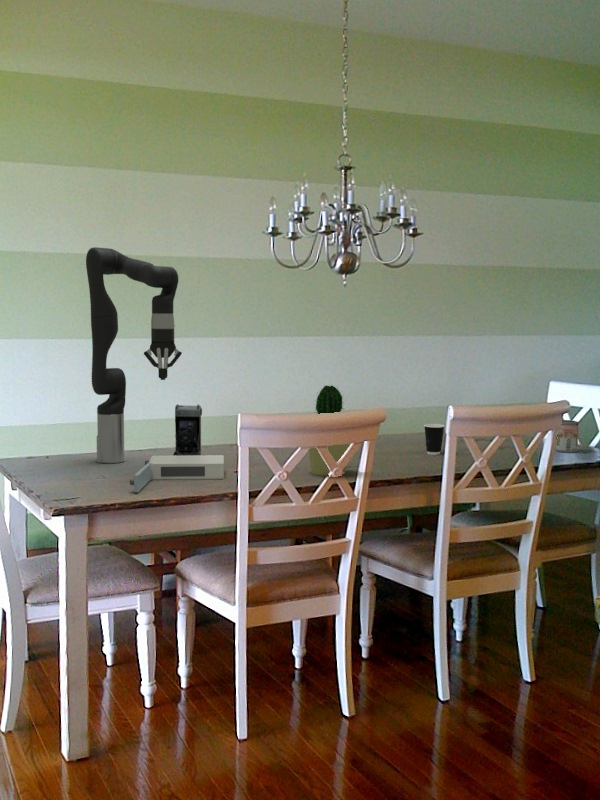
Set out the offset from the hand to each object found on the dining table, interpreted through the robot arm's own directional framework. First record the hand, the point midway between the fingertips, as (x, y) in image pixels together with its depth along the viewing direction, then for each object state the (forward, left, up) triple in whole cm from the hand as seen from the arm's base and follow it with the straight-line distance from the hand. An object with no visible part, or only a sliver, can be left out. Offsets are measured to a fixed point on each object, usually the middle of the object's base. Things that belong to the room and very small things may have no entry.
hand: (163, 379), depth 288 cm
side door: (-5, -25, -30) cm, 40 cm away
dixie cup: (+100, +32, -31) cm, 110 cm away
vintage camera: (+7, +20, -31) cm, 38 cm away
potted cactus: (+55, -5, -31) cm, 63 cm away
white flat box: (+8, -6, -31) cm, 32 cm away
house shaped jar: (+154, +36, -31) cm, 161 cm away
